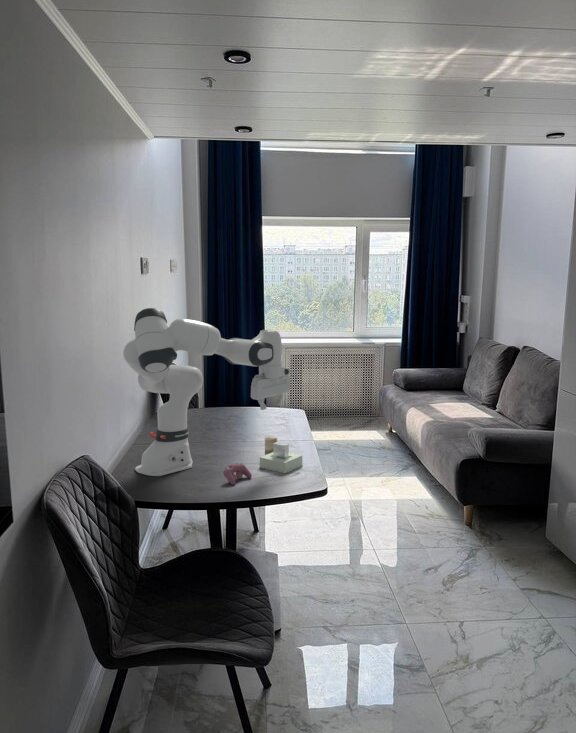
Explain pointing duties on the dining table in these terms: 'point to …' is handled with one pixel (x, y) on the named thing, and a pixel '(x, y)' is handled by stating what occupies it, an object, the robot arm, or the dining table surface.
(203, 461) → the dining table surface
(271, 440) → the round beech peg
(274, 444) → the grey rectangular block
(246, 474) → the video game controller
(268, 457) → the slot block
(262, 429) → the dining table surface
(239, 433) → the dining table surface
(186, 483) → the dining table surface
